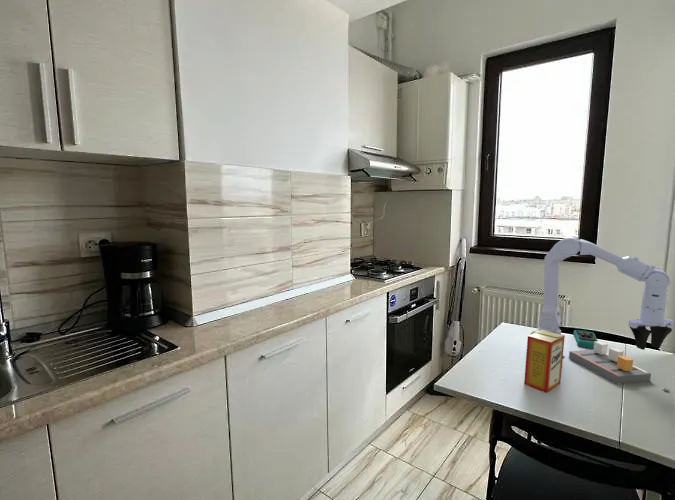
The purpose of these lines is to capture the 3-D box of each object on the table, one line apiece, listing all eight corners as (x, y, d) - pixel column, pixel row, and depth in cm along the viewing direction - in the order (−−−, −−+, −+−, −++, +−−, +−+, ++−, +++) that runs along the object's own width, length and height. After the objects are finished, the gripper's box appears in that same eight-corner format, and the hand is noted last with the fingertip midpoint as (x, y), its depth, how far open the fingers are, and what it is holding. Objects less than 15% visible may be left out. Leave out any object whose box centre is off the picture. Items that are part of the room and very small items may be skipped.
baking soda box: (546, 393, 105) (550, 341, 103) (524, 384, 111) (527, 334, 108) (560, 383, 111) (564, 334, 109) (538, 375, 116) (542, 328, 114)
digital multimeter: (593, 338, 150) (594, 331, 149) (600, 351, 137) (601, 343, 136) (572, 335, 153) (573, 328, 153) (577, 347, 140) (578, 340, 140)
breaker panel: (617, 383, 111) (619, 364, 110) (568, 357, 129) (570, 340, 129) (650, 381, 113) (652, 361, 112) (597, 355, 131) (599, 338, 130)
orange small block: (625, 371, 113) (626, 360, 113) (616, 366, 116) (617, 356, 116) (631, 370, 114) (633, 359, 113) (623, 366, 116) (624, 355, 116)
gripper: (646, 311, 108) (640, 354, 110) (686, 309, 111) (680, 351, 112) (624, 305, 115) (619, 345, 117) (662, 303, 117) (657, 342, 119)
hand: (647, 347), depth 115 cm, fingers open, 5 cm apart
